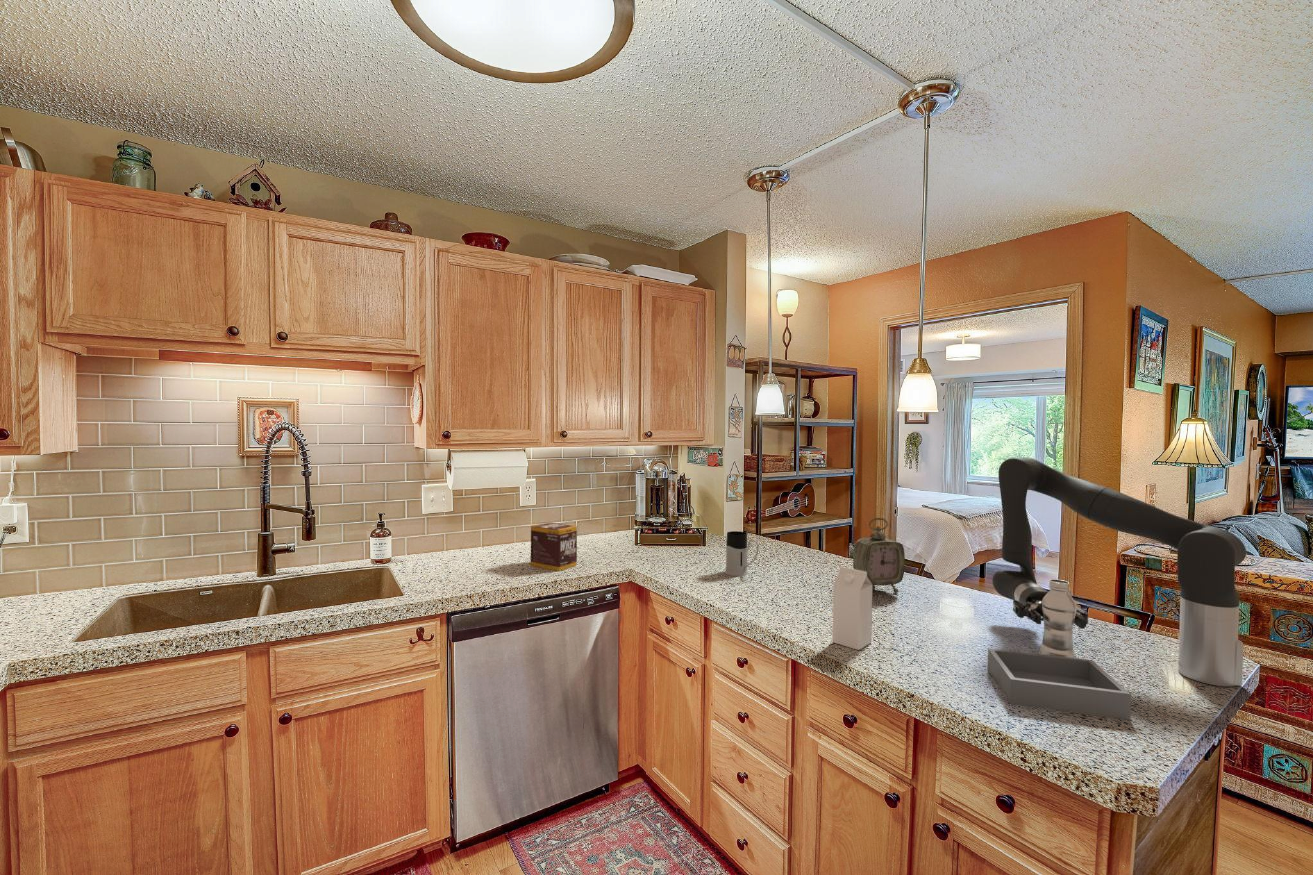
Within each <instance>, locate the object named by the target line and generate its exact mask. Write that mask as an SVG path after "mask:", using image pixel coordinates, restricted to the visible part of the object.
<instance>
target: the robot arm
mask: <svg viewBox="0 0 1313 875" xmlns="http://www.w3.org/2000/svg"><path fill="white" fill-rule="evenodd" d="M998 484H999V492H1000V501H1001V510H1002V538H1001V539H1002V540H1001V541H1002V543H1001V558H1002V560H1003V561H1005V562H1008V563H1011V564H1014V565H1016V566H1018V567H1019V568H1020V571H1019V570H1011V569H1010V570H1009V569H1001V570H997V571H996V572H995V573H994V575H993V576H992V581H991V582H992V585H993V587H994V590H995V591H996V593H998V595H1000V596H1002V597H1004V598H1005V599H1009V600H1011V601H1012V611H1013V612H1014V613H1015V615H1016V616H1017V617H1018V618H1020V619H1023V618H1025V617H1027V618H1026V619H1027V620H1031V622H1034V623H1035V624H1036V625H1042V622H1044V616H1043V608H1042V600H1043V598H1044V596H1045V595H1046V594H1047V593H1048V592H1049V591H1048V590H1046V589H1045V588H1044V587H1042V586H1041V585H1039V584H1038V583H1037V579H1036V576H1035V573H1034V567H1033V562H1032V548H1033V547H1032V544H1033V534H1032V528H1031V525H1030V520H1029V518H1028V514H1027V504H1026V502H1027V496H1028V495H1027V494H1028V491H1032V492H1035V493H1039V494H1042V495H1045V496H1048V497H1051V498H1053V499H1055V500H1058V501H1059V502H1060V503H1062V504H1063V505H1066V506H1067V507H1068V508H1069V509H1070V510H1071V511H1073V512H1074V513H1076V514H1078V516H1081V517H1083V518H1085V519H1087V520H1089V521H1091V522H1094V523H1096V524H1099V525H1101V526H1103V527H1105V528H1108V529H1111V530H1114V531H1118V532H1120V533H1121V532H1122V533H1126V534H1129V535H1133V536H1137V537H1140V538H1145V539H1150V540H1153V541H1157V542H1159V543H1162V544H1164V545H1166V546H1169V547H1171V548H1173V549H1176V550H1177V558H1176V561H1177V568H1176V570H1177V571H1176V572H1177V583H1178V587H1179V590H1180V603H1179V604H1180V606H1179V607H1180V608H1179V634H1178V635H1179V636H1178V638H1179V640H1178V663H1177V666H1178V667H1177V668H1178V669H1177V671H1178V672H1179V674H1181V675H1182V676H1184V677H1186V678H1189V679H1191V680H1193V681H1197V682H1200V683H1204V684H1209V685H1213V686H1218V687H1235V686H1240V687H1242V686H1243V664H1244V662H1243V661H1244V643H1243V641H1241V640H1240V639H1239V618H1240V617H1239V616H1240V614H1239V613H1240V593H1239V592H1238V591H1237V590H1236V585H1235V584H1236V582H1235V581H1236V580H1235V578H1236V577H1235V576H1236V574H1235V573H1236V567H1237V566H1238V565H1240V564H1241V563H1242V562H1243V561H1244V560H1245V558H1246V557H1247V549H1246V546H1245V544H1244V543H1243V540H1242V539H1240V538H1239V537H1238V536H1237V535H1235V534H1233V533H1232V532H1231V531H1229V530H1226V529H1223V528H1219V527H1216V526H1212V525H1209V524H1205V523H1201V522H1197V521H1196V520H1195V521H1194V520H1191V519H1189V518H1184V517H1181V516H1179V515H1176V514H1173V513H1170V512H1167V511H1165V510H1163V509H1162V508H1158V507H1156V506H1154V505H1152V504H1149V503H1147V502H1145V501H1142V500H1140V499H1138V498H1135V497H1132V496H1130V495H1128V494H1125V493H1122V492H1121V491H1118V490H1114V489H1112V488H1110V487H1106V486H1104V485H1100V484H1096V483H1094V482H1091V481H1088V480H1085V479H1082V478H1078V477H1075V476H1071V475H1069V474H1066V473H1064V472H1062V471H1059V470H1058V469H1056V468H1054V467H1051V466H1050V465H1047V464H1045V463H1044V462H1041V461H1039V460H1037V459H1035V458H1031V457H1010V458H1007V459H1005V460H1004V461H1002V463H1000V465H999V467H998ZM1088 624H1089V613H1088V612H1087V611H1085V610H1084V609H1082V608H1081V607H1078V606H1077V611H1076V615H1075V620H1074V625H1075V626H1077V627H1078V628H1079V629H1085V628H1087V625H1088Z"/></svg>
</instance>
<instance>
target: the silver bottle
mask: <svg viewBox="0 0 1313 875" xmlns="http://www.w3.org/2000/svg"><path fill="white" fill-rule="evenodd" d="M1048 588H1049V589H1050V590H1049V591H1048V593H1047V594H1046V595H1045V596H1044V598H1043V600H1042V608H1043V616H1044V621H1043V633H1042V634H1043V635H1042V641H1041V642H1042V643H1041V644H1040V648H1039V654H1043V655H1051V656H1060V657H1069V658H1076V655H1075V654H1076V653H1075V649H1074V639H1073V638H1074V637H1073V636H1074V635H1073V634H1074V625H1075V624H1074V620H1075V615H1076V611H1077V607H1078V606H1077V602H1076V601H1075V600H1074V598H1073V597H1072V595H1071V594H1070V593H1069V592H1070V591H1071V588H1070V582H1069V581H1067V580H1063V579H1055V578H1053V579H1051V578H1050V579H1049V585H1048Z"/></svg>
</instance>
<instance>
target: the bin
mask: <svg viewBox="0 0 1313 875" xmlns="http://www.w3.org/2000/svg"><path fill="white" fill-rule="evenodd" d="M987 671H988V673H989V674H990V676H991V677H992V679H993V680H994V682H995V684H996V685H997V686H998V688H999V689H1000V691H1001V692H1002V694H1003V695H1004V696H1005V698H1006V700H1007V701H1008V702H1009V704H1011V705H1017V706H1024V707H1031V708H1032V707H1033V708H1038V709H1047V710H1053V711H1061V712H1068V713H1076V714H1083V715H1090V716H1098V717H1103V718H1104V717H1105V718H1113V719H1119V720H1127V721H1130V720H1131V704H1132V703H1131V702H1132V694H1131V692H1129V690H1127V689H1126V688H1124V687H1123V686H1122V685H1121V684H1120V683H1119V682H1118V681H1116V680H1115V679H1114V678H1113V676H1111V675H1110V674H1108V672H1106V671H1105V670H1104V669H1103V668H1102V667H1100V665H1098V664H1097V662H1095V661H1094V660H1093V659H1085V658H1077V657H1075V658H1069V657H1060V656H1051V655H1043V654H1040V653H1032V652H1022V651H1016V650H1015V651H1014V650H1005V649H996V648H988V649H987Z"/></svg>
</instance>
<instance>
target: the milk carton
mask: <svg viewBox="0 0 1313 875" xmlns="http://www.w3.org/2000/svg"><path fill="white" fill-rule="evenodd" d="M832 586H833V588H832V590H833V593H832V594H833V595H832V643H834V644H837V645H841V646H844V647H847V648H850V649H854V650H857V651H860V650H861V649H863V648H864V647H866V646H868V645H870V644H871V643H872V626H873V625H872V620H873V590H872V584H871V582H870V580H869V579H868V577H867V572H865V571H860V570H855V569H854V568H849V567H844V566H839V571H838V574H837V576H836V578H835V580H834V582H833V585H832Z"/></svg>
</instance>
